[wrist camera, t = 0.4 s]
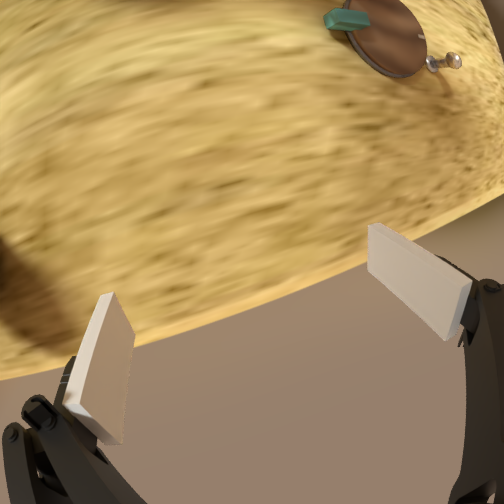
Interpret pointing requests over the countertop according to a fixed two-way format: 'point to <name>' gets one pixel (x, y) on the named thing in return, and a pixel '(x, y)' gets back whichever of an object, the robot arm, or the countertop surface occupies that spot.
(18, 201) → the countertop surface
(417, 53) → the brown and teal disc
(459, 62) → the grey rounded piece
